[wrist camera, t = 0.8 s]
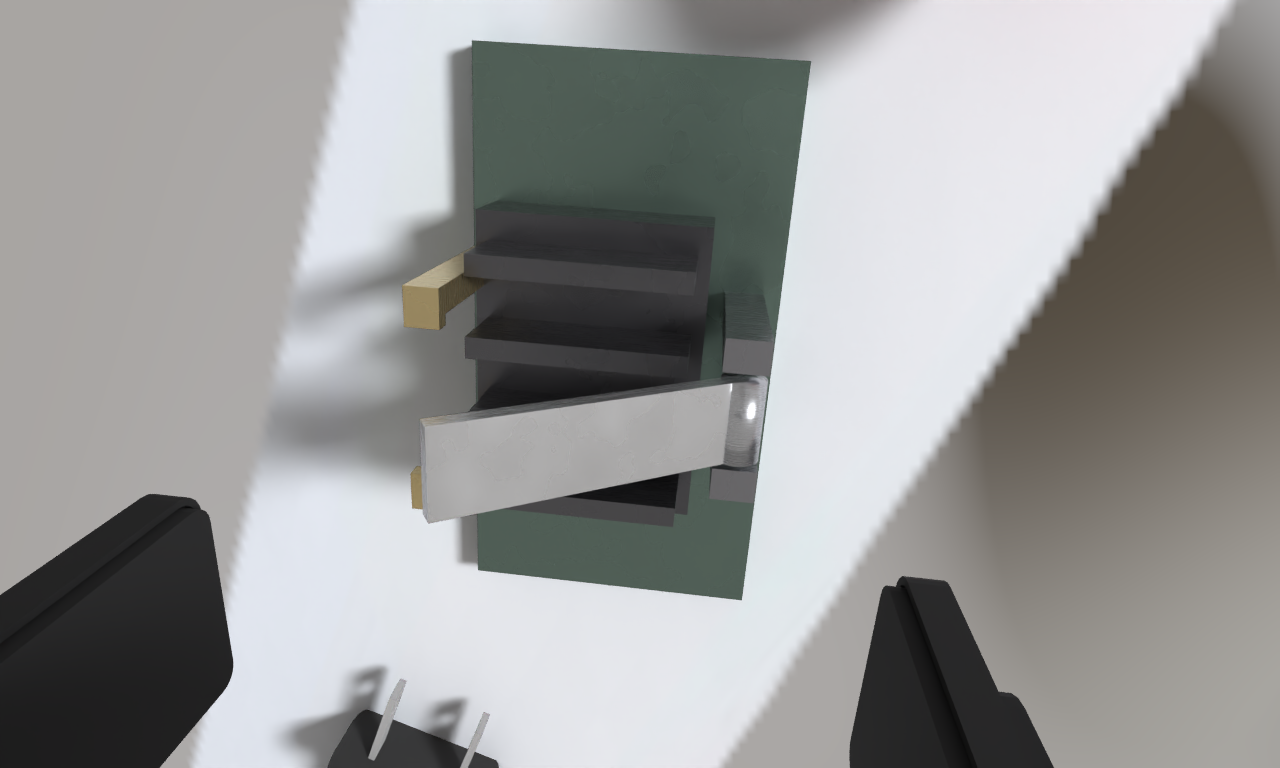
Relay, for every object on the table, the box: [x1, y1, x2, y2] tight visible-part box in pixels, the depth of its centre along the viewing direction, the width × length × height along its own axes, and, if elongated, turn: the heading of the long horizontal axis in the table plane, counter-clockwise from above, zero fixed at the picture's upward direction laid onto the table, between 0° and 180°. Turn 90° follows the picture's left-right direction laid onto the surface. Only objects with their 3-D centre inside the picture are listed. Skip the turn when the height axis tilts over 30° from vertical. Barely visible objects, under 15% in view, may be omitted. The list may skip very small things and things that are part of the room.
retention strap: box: [419, 373, 768, 524], centre depth 24 cm, size 3×12×2 cm, turn 86°
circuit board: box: [402, 41, 811, 600], centre depth 30 cm, size 24×13×9 cm, turn 176°
